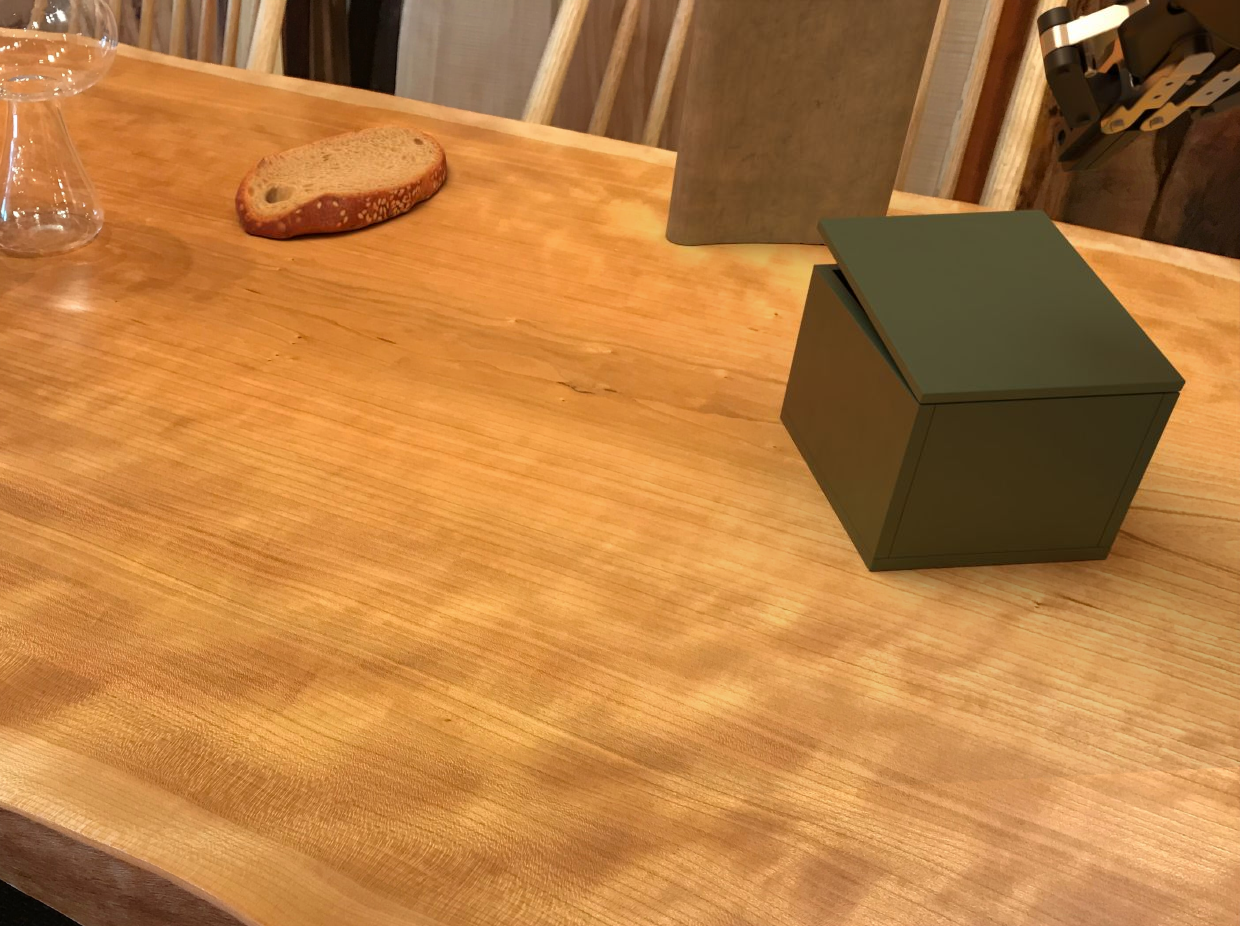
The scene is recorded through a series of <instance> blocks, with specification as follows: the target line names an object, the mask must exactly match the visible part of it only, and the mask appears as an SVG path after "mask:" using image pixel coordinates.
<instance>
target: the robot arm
mask: <svg viewBox="0 0 1240 926" xmlns="http://www.w3.org/2000/svg"><path fill="white" fill-rule="evenodd" d="M1036 24H1037V31H1038V37H1039V44H1040V50H1041V56H1042V64H1043V68H1044V75H1045V80H1046V82H1047V85H1048V86H1049V88H1050V91H1051V92H1052V95H1053V97H1054V99H1055V102H1056V103H1057V105H1058V107H1059V110H1060V112H1061V114H1062V117H1063V119H1062V120H1061V121H1060V122H1059V123H1057V124H1056V126H1055V127H1054V130H1053V138H1054V145H1055V152H1056V158H1057V163H1060V166H1061V169H1062V171H1063V172H1064V173H1072V172H1085V171H1098V170H1100V169H1101V168H1103V166H1105V165H1107V163H1108V162H1109V161H1110V160H1112V158H1114V157H1116V156H1118V155H1120V154H1121V153H1123V152H1124V151H1125V150H1126V149H1127V148H1128V147H1129V146H1131V145H1132V144H1133V143H1134V142H1135V140H1137V139H1138V138H1140V137H1141V136H1142V135H1143V134H1144V133H1145V132H1149V131H1150V132H1151V131H1154V130H1158V129H1161V128H1164V127H1166V126H1167V125H1169V124H1170V123H1172V122H1173V121H1174V120H1175V119H1176V118H1177V117H1179V116H1180V115H1182V113H1185V112H1189V116H1190V119H1191V120H1193V121H1201V120H1206V119H1209V118H1211V117H1214V116H1216V115H1219V114H1221V113H1223V112H1226V111H1228V110H1230V109H1233V108H1236V107H1238V106H1240V0H1114V1H1113V5H1110V6H1108V7H1106V8H1103V9H1100V10H1098V11H1095V12H1093V13H1089V14H1088V15H1086V14H1085V15H1083V14H1082V15H1080V16H1078V17H1076V19H1075V15H1074V13H1073V11H1072V8H1071V7H1069V6H1066V5H1061V6H1060V5H1059V6H1055V7H1052V8H1050V9H1047V10H1046V11H1044V12H1042V13H1041V14H1040V15H1039V16H1038V18H1037V19H1036ZM1113 42H1114V46H1113V50H1112V53H1110V56H1108V58H1107V59H1106V60H1105V61H1104V62H1103V64H1102V65H1100V68H1098V65H1097V61H1099V60H1100V59H1101V58H1103V57H1104V55H1105V53H1106V48H1107V47H1108V46H1109V45H1110V44H1111V43H1113Z"/></svg>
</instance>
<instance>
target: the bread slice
mask: <svg viewBox="0 0 1240 926" xmlns="http://www.w3.org/2000/svg"><path fill="white" fill-rule="evenodd" d="M447 166H448V165H447V157H446V152H445V149H444V147H443V146H442V145H441V143H440V142H439V141H437V139H435V138H434V137H433V136H432V135H431V134H428V133H427V132H423V131H422V130H419V129H417V128H415V127H414V126H413V127H412V126H406V125H401V124H396V123H392V124H386V125H385V124H384V125H379V126H374V127H372V126H371V127H365V128H361V129H360V130H353V131H350V130H349V131H347V132H345V133H339V134H335V135H332V136H328V137H324V138H322V139H317V140H314V141H313V142H311V143H305V144H303V145H301V146H298V147H293V148H290V149H287V150H286V151H282V152H279V153H276V154H270V155H267V156H263V157H261V158H260V159H259V160H257V162H256V163H255V164H254V165H253V166H252V167H251V168H250V169H249V170H247V173H246V174H245V176H243V179H242V180H241V182H240V184H239V186H238V188H237V190H236V194H235V196H234V208H235V212H236V214H237V216H238V218H239V221H240V222H241V226H242V228H243V230H244V231H246V232H247V233H248V234H251V235H258V236H263V237H268V238H273V239H290V238H292V237H295V236H300V235H311V234H327V233H328V234H330V233H331V234H332V233H340V232H347V231H352V230H353V231H354V230H359V229H361V228H364V227H367V226H369V225H372V224H375V223H381V222H383V221H386V220H388V219H391V218H394V217H396V216H398V215H400V214H404V213H407V212H409V211H410V210H411V208H412V207H413V206H415V205H416V204H418V203H420V202H422V201H425V200H428V199H429V198H430V197H432V196H433V195H434V194H435V193H436V192H437V191H438V190H439V188H440V187H441V185H442V184H443V183H444V181H445V179H446V178H447V172H448V171H447V170H448V167H447Z"/></svg>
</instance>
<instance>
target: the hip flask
mask: <svg viewBox="0 0 1240 926" xmlns="http://www.w3.org/2000/svg"><path fill="white" fill-rule="evenodd" d="M941 2H942V0H698V3H697V10H696V17H695V23H694V33H693V37H692V45H691V52H690V53H691V54H690V60H689V66H688V73H687V79H686V86H685V87H686V88H685V94H684V95H685V96H684V101H683V110H682V114H681V115H682V116H681V124H680V130H679V138H678V145H677V152H676V158H675V164H674V165H675V166H674V172H673V178H672V179H673V180H672V186H671V194H670V203H669V207H668V208H669V209H668V213H667V215H668V216H667V223H666V230H665V238H666V239H667V240H668V241H670V243H671V242H672V243H675V244H677V245H682V246H699V245H700V246H701V245H714V244H716V245H717V244H748V243H749V244H751V243H752V244H758V243H760V244H762V243H763V244H800V243H803V245H820V244H824V245H823V246H827V245H826V244H825V242H824V240H823V239H822V237H821V235H820V234H819V232H818V230H817V225H818V221H819V219H835V218H858V217H881V216H888V211H889V208H890V204H891V199H892V195H893V192H894V187H895V183H896V179H897V176H898V171H899V168H900V164H901V161H902V160H901V159H902V156H903V152H904V148H905V144H906V140H907V137H908V132H909V128H910V124H911V120H912V116H913V112H914V110H915V109H914V108H915V104H916V101H917V98H918V97H917V96H918V92H919V89H920V84H921V81H922V77H923V73H924V70H925V66H926V61H927V57H928V53H929V49H930V45H931V42H932V38H933V34H934V29H935V25H936V21H937V19H938V14H939V10H940V6H941Z"/></svg>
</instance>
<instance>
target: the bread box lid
mask: <svg viewBox="0 0 1240 926" xmlns="http://www.w3.org/2000/svg"><path fill="white" fill-rule="evenodd" d="M817 230H818V232H819V234H820V235H821V237H822V239H823V240H824V242H825V244H826V245H825V246H826V247H827V249H828V250H829V252H830V254H831V256H832V258H833V259H834V261H835V262H836V264H838V266H839V268H840V269H841V271H842V273H843V274H844V276H845V278H846V279H847V281H848V283H849V284H850V286H851V288H852V290H853V291H854V293H855V295H856V296H857V298H858V300H859V301H860V303H861V305H862V306H863V308H864V310H865V312H866V313H867V315H868V317H869V318H870V320H871V322H872V323H873V325H874V327H875V329H876V330H877V332H878V334H879V335H880V337H881V339H882V340H883V342H884V344H885V345H886V347H887V349H888V351H889V352H890V354H891V356H892V357H893V359H894V361H895V362H896V364H897V366H898V368H899V369H900V371H901V373H902V374H903V376H904V378H905V379H906V381H907V383H908V384H909V386H910V388H911V390H912V391H913V393H914V395H915V396H916V398H917V400H918V401H919V403H920V404H924V403H945V402H966V401H987V400H1008V399H1029V398H1050V397H1071V396H1092V395H1113V394H1134V393H1155V392H1176V391H1179V392H1181V391H1182V390H1183V389H1184V387H1185V385H1186V382H1187V380H1186V379H1185V378H1184V377H1183V376H1182V374H1181V373H1180V372H1179V371H1178V370H1177V369H1176V367H1175V366H1174V365H1173V364H1172V363H1171V362H1170V360H1169V359H1168V358H1167V357H1166V356H1165V354H1164V353H1163V352H1162V350H1161V349H1160V348H1159V347H1158V346H1157V345H1156V343H1155V342H1154V341H1153V340H1152V339H1151V338H1150V336H1149V335H1148V334H1147V333H1146V332H1145V330H1144V329H1143V328H1142V326H1140V324H1139V323H1138V322H1137V321H1136V320H1135V318H1134V317H1133V316H1132V315H1131V314H1130V312H1129V311H1128V310H1127V309H1126V308H1125V307H1124V306H1123V304H1122V303H1121V302H1120V301H1119V300H1118V299H1117V297H1116V296H1115V294H1113V292H1112V291H1111V289H1110V288H1109V287H1108V286H1107V285H1106V284H1105V282H1103V280H1102V279H1101V278H1100V277H1099V276H1098V274H1097V273H1096V272H1095V271H1094V270H1093V268H1092V267H1091V266H1090V265H1089V263H1087V261H1086V260H1085V259H1084V258H1083V257H1082V255H1081V254H1080V253H1079V251H1077V249H1076V248H1075V247H1074V246H1073V245H1072V243H1071V242H1070V241H1069V239H1067V237H1066V236H1065V234H1063V233H1062V231H1061V230H1060V229H1059V227H1058V226H1057V225H1056V224H1055V223H1054V222H1053V221H1052V219H1051V218H1050V217H1049V216H1048V215H1047V213H1046V212H1045V211H1044V210H1043V209H1021V210H1000V211H999V210H997V211H977V212H976V211H975V212H973V211H972V212H952V213H951V212H950V213H931V214H930V213H929V214H927V213H926V214H907V215H886V216H881V217H858V218H835V219H819V221H818V225H817Z"/></svg>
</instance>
